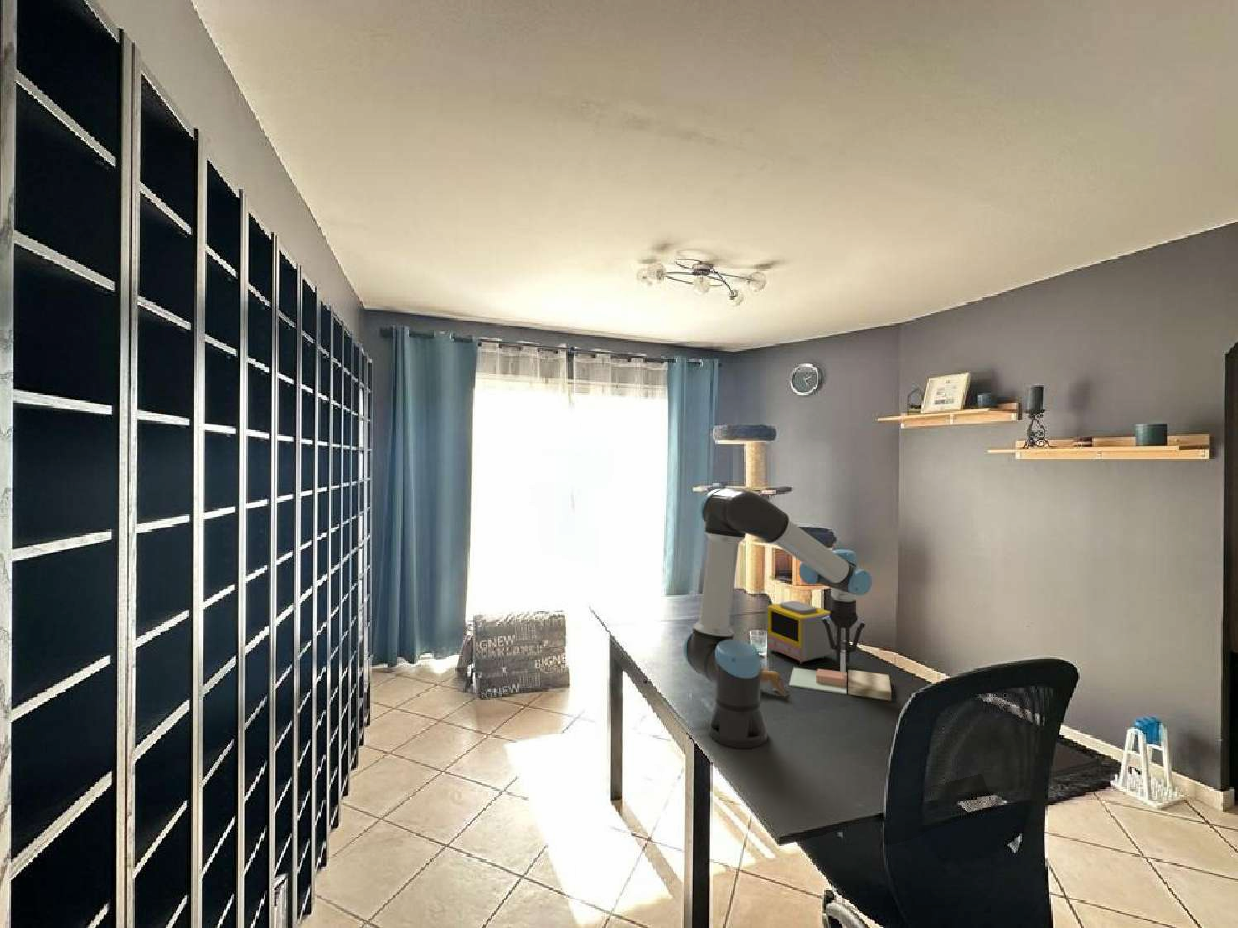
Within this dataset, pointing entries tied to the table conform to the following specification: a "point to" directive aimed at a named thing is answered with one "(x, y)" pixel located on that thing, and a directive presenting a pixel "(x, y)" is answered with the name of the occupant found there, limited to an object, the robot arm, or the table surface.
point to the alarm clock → (798, 630)
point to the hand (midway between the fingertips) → (842, 671)
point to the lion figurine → (773, 680)
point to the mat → (812, 681)
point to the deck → (869, 684)
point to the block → (831, 677)
